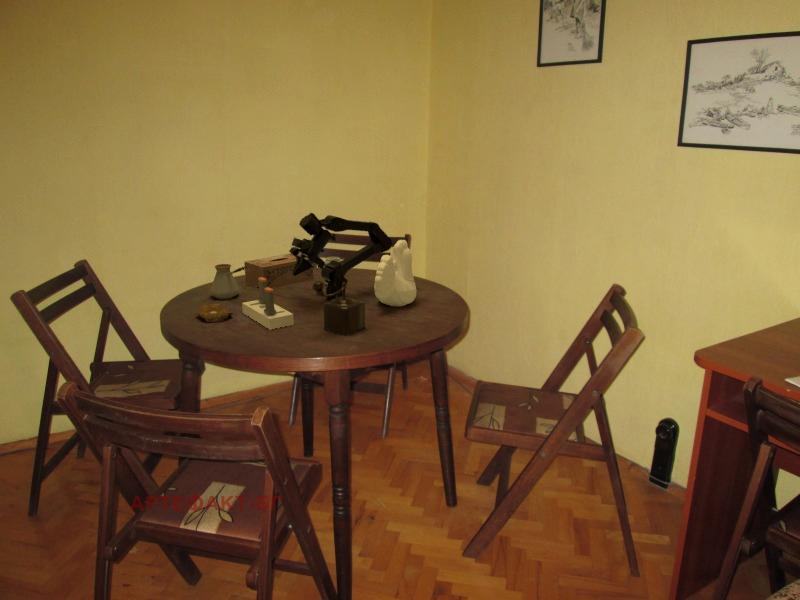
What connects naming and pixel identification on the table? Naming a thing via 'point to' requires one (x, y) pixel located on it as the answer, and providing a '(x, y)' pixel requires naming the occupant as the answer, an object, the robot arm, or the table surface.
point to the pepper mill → (341, 311)
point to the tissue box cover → (275, 271)
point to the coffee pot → (225, 282)
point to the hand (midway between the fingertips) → (293, 275)
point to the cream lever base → (269, 321)
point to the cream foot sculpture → (396, 277)
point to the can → (331, 260)
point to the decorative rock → (213, 313)
